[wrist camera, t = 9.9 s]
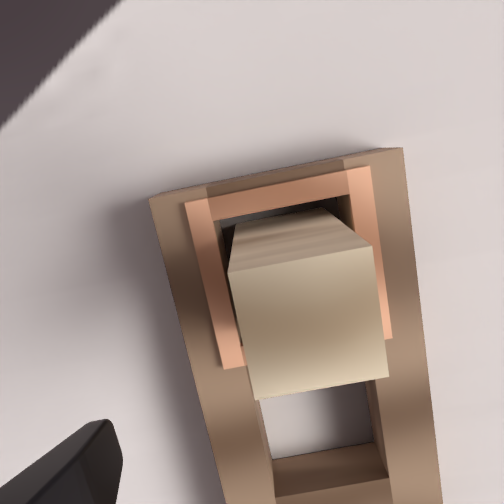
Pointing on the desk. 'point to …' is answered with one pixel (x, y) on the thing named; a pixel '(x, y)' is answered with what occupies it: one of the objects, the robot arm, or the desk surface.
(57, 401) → the desk surface
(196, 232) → the walnut hole board
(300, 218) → the maple peg
